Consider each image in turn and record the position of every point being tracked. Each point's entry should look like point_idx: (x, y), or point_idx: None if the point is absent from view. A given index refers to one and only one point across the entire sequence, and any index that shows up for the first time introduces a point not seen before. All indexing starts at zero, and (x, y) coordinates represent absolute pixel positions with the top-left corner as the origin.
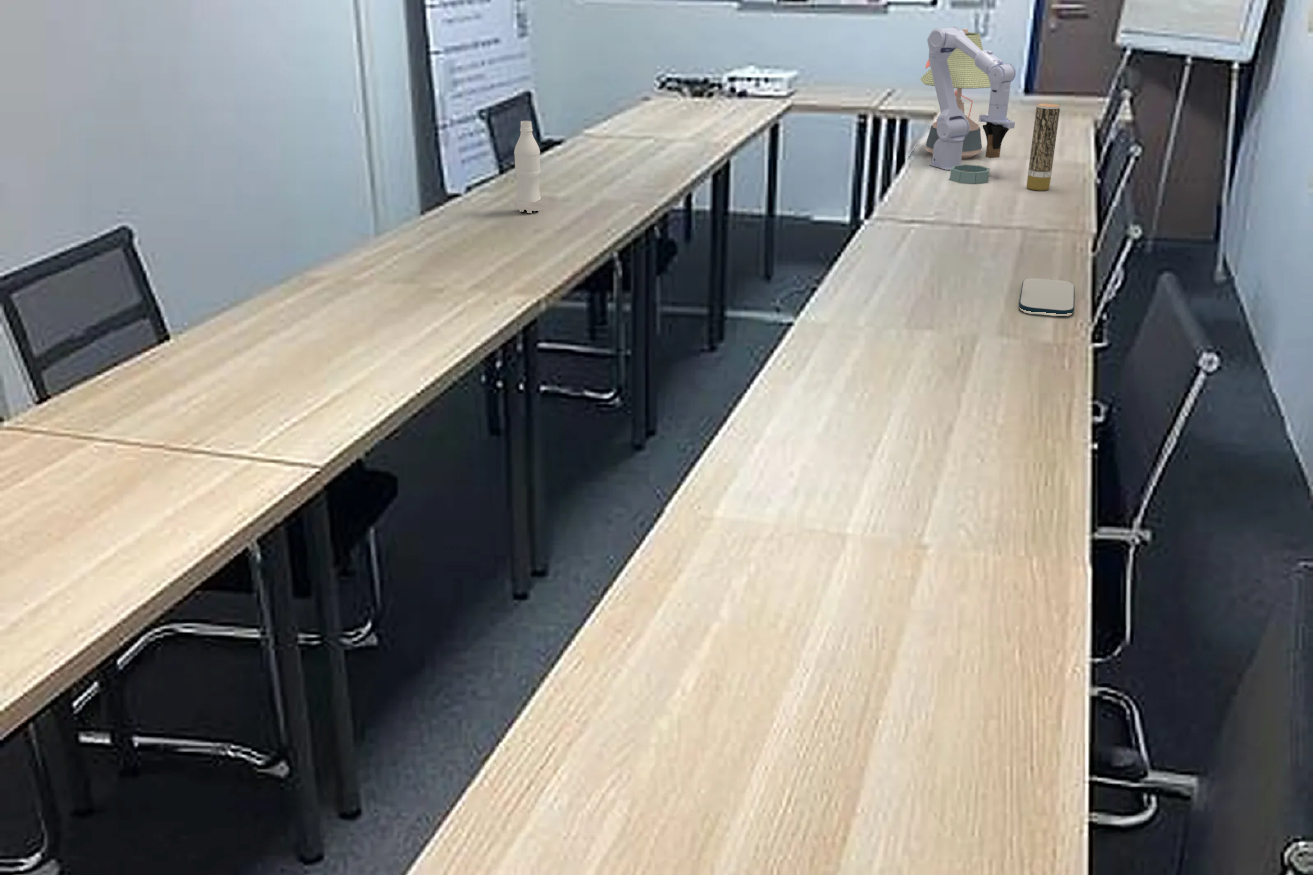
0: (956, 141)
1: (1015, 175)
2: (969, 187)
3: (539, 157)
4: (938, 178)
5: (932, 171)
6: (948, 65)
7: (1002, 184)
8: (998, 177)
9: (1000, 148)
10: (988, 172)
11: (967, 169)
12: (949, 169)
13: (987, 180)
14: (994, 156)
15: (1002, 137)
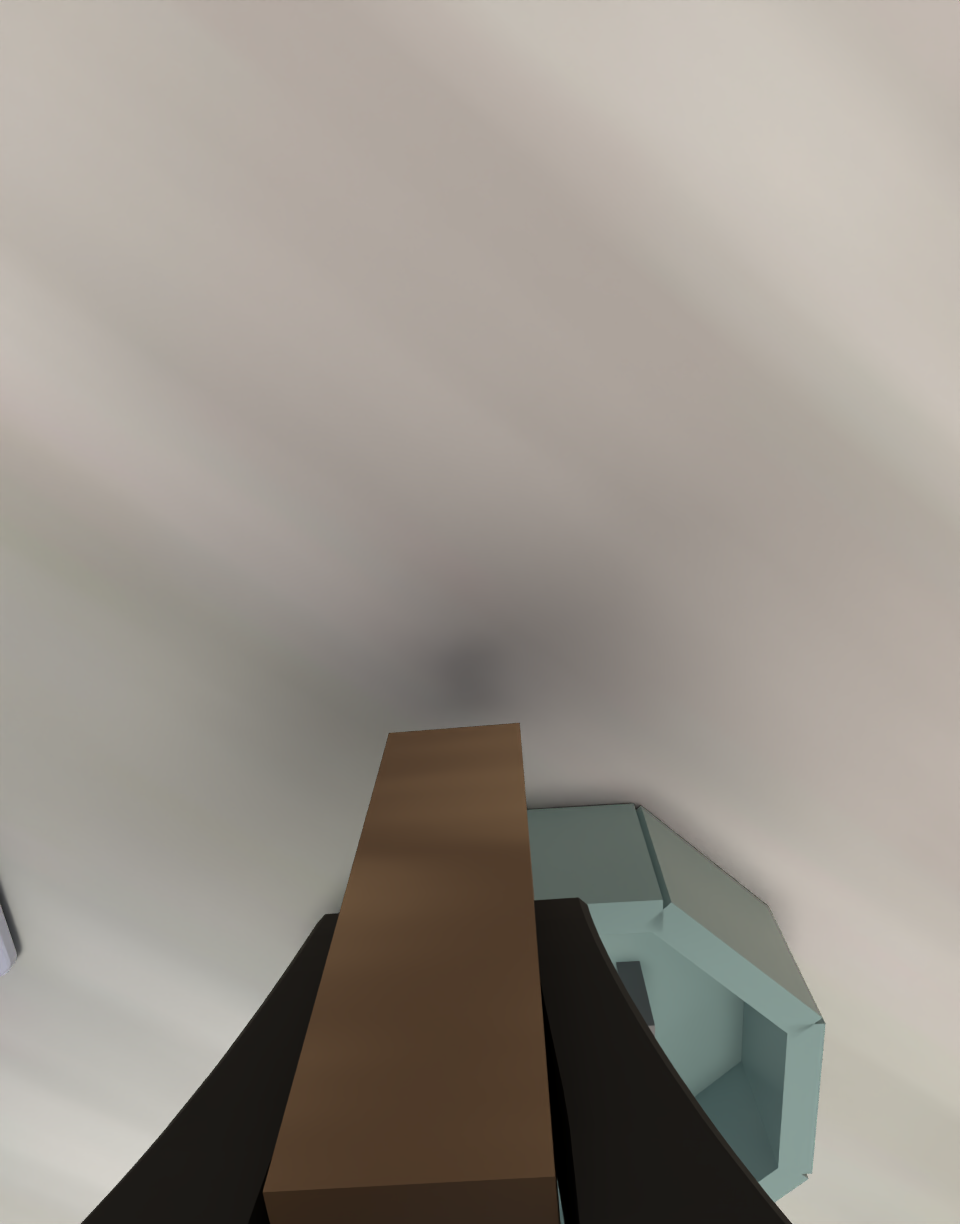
0: None
1: (553, 287)
2: (861, 1160)
3: None
4: None
5: (36, 1096)
6: None
7: (936, 808)
8: (574, 619)
9: (526, 827)
10: (816, 1006)
11: None
12: (9, 938)
13: (774, 924)
14: (530, 852)
15: (711, 1186)
